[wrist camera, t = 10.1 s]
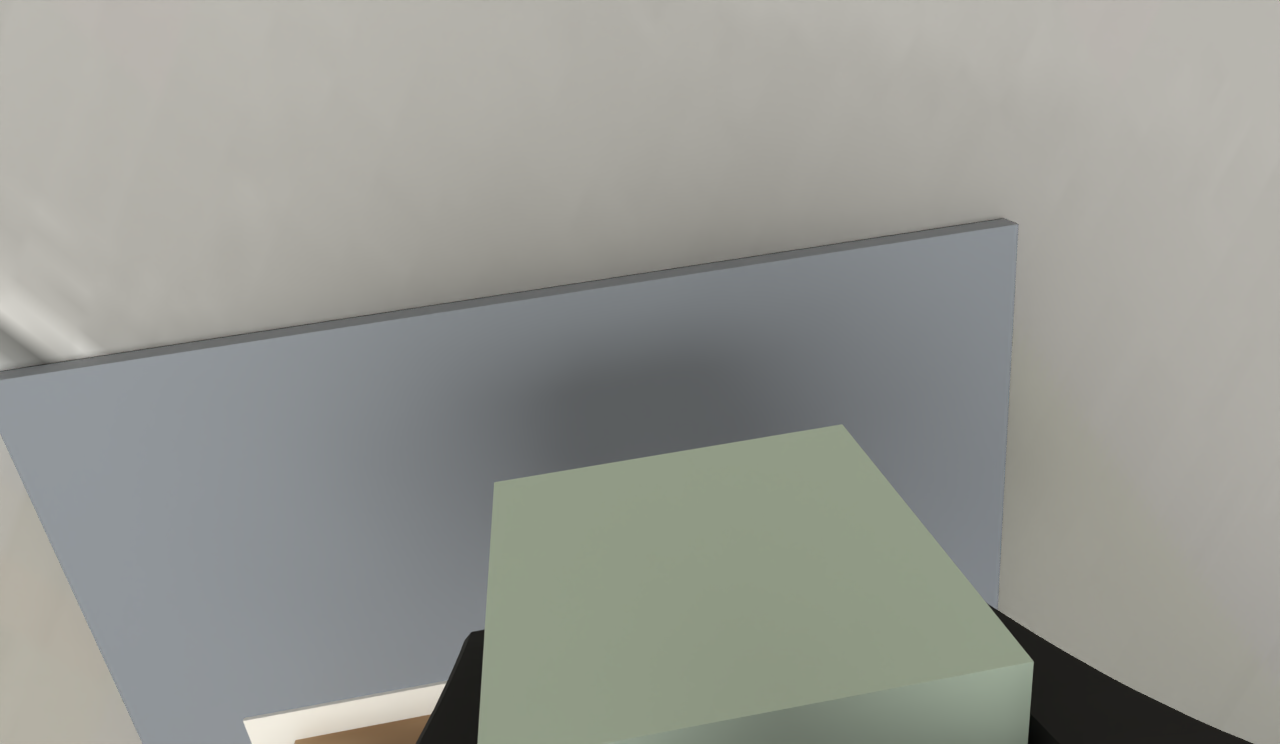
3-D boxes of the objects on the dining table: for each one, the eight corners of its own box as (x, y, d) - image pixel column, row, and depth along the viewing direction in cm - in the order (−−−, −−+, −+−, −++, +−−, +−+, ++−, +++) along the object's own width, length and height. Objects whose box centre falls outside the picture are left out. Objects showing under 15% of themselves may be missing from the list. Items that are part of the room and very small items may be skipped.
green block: (841, 424, 12) (1034, 662, 8) (850, 694, 14) (1007, 1012, 10) (494, 482, 12) (475, 766, 7) (550, 751, 14) (564, 1111, 9)
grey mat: (1004, 218, 19) (1020, 224, 19) (977, 793, 26) (988, 812, 26) (-6, 372, 18) (-26, 385, 17) (249, 941, 25) (242, 966, 24)
